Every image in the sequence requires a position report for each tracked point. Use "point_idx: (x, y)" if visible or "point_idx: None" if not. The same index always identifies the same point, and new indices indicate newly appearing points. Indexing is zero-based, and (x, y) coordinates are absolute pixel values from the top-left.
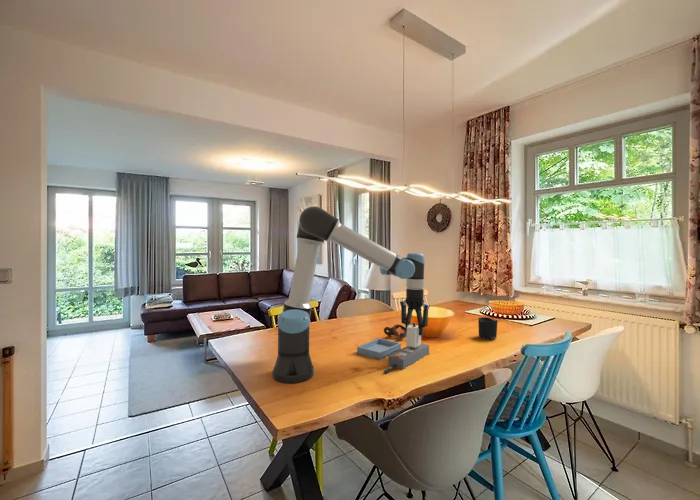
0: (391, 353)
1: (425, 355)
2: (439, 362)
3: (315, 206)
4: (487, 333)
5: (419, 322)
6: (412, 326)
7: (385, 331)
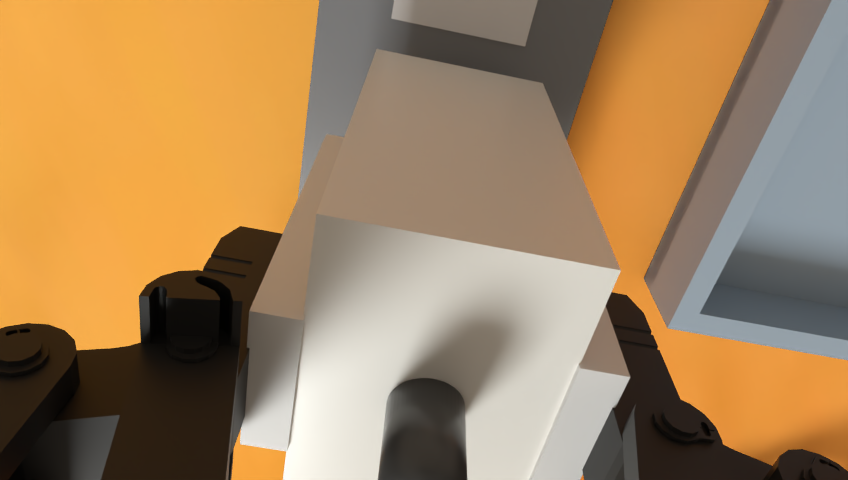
0: (750, 58)
1: None
2: (83, 70)
3: None
4: None
5: (147, 463)
6: (474, 410)
7: None
